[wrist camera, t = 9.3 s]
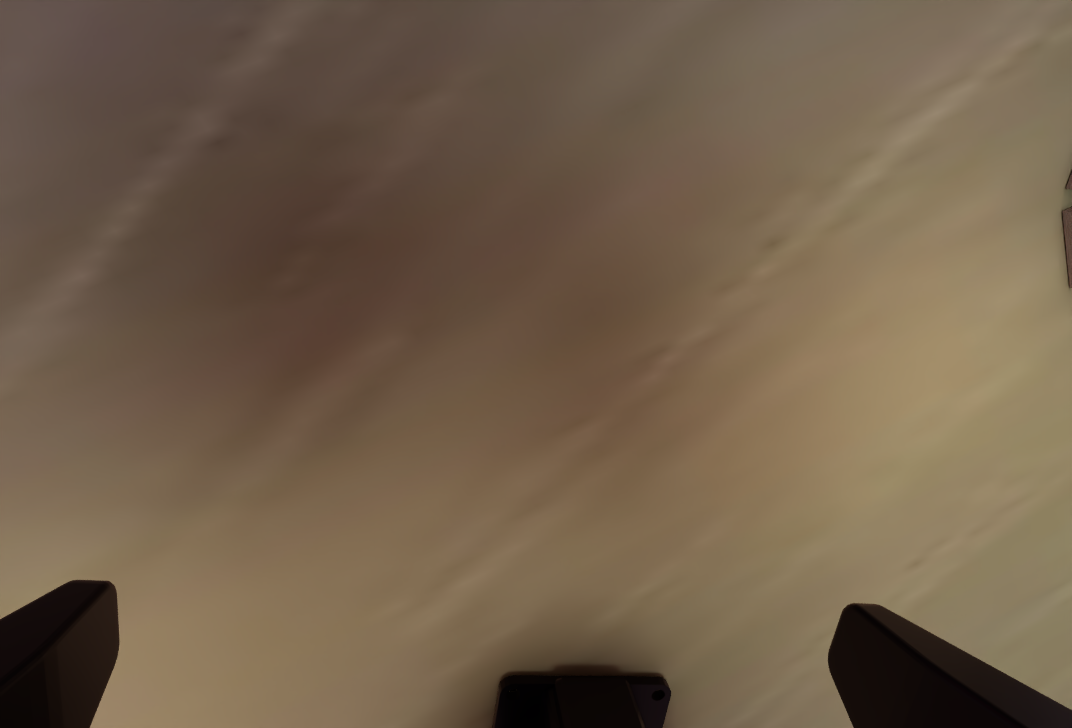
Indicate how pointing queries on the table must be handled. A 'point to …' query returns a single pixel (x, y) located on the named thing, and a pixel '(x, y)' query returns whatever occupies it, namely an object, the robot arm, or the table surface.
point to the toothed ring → (1068, 234)
